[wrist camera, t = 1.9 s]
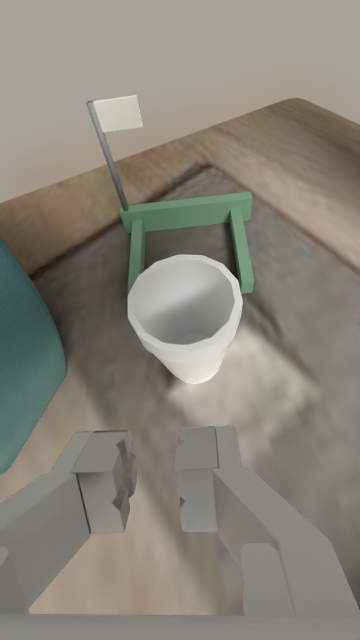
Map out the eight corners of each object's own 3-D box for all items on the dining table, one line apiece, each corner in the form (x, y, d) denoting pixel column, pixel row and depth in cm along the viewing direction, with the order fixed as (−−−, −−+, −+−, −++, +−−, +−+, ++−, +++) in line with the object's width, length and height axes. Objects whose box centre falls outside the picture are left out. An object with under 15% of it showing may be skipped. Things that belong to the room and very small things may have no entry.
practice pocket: (264, 291, 39) (294, 161, 23) (121, 303, 41) (60, 190, 25) (248, 213, 46) (263, 73, 30) (127, 226, 48) (82, 100, 32)
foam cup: (195, 310, 39) (185, 238, 28) (251, 356, 35) (266, 294, 24) (140, 359, 36) (104, 302, 25) (193, 415, 32) (180, 377, 21)
